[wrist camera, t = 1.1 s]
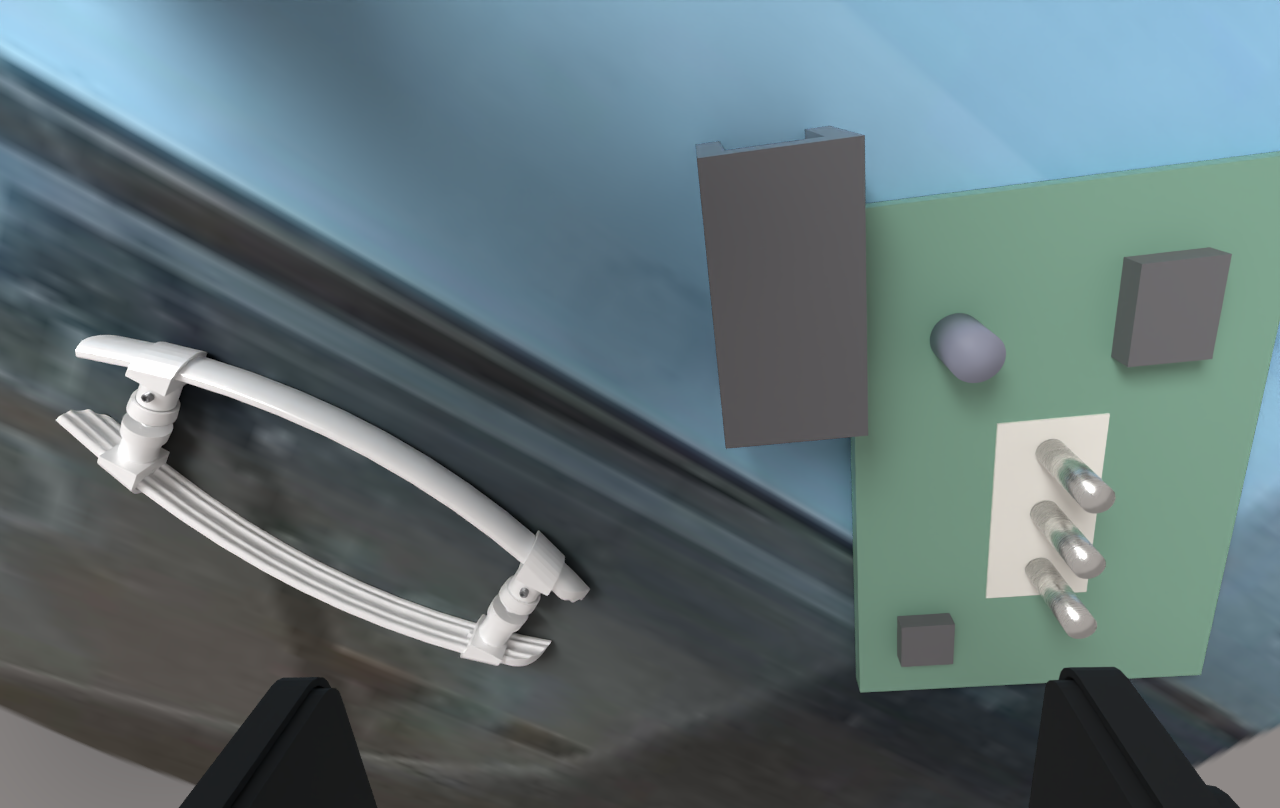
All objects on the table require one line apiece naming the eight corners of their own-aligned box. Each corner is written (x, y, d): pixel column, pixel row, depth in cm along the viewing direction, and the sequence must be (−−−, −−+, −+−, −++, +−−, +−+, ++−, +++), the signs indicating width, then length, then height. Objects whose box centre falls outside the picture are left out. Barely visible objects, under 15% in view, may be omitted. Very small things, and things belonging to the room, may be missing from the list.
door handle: (130, 277, 31) (617, 546, 35) (78, 445, 35) (525, 671, 39) (82, 293, 29) (612, 580, 33) (32, 471, 33) (514, 711, 37)
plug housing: (695, 144, 27) (696, 158, 22) (828, 125, 27) (864, 135, 21) (719, 385, 31) (725, 448, 26) (836, 373, 31) (868, 435, 25)
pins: (1035, 438, 30) (1082, 487, 27) (1065, 436, 30) (1117, 484, 26) (1023, 578, 33) (1064, 639, 29) (1050, 576, 33) (1095, 637, 29)
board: (844, 206, 28) (864, 221, 25) (1295, 149, 26) (1376, 157, 23) (855, 677, 37) (871, 731, 34) (1187, 659, 35) (1235, 714, 32)
